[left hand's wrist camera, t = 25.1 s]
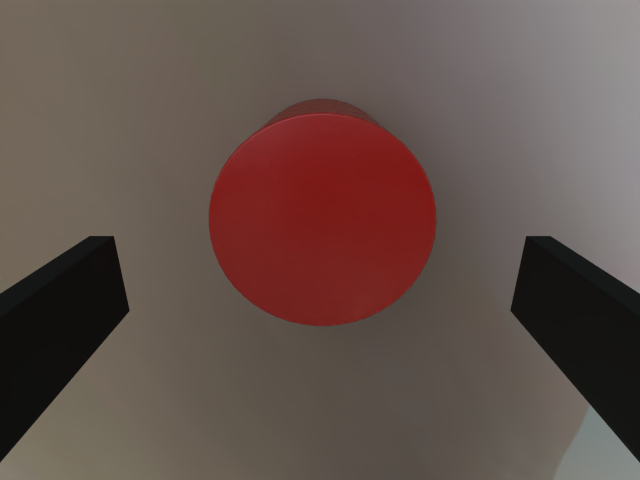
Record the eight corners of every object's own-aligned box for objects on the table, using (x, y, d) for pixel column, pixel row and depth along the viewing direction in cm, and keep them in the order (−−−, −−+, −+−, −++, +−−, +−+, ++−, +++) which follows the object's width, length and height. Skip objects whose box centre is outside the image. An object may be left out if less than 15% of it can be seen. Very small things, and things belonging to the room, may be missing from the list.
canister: (281, 256, 26) (260, 349, 17) (227, 129, 23) (166, 161, 14) (409, 216, 25) (457, 293, 16) (370, 76, 21) (405, 74, 13)
